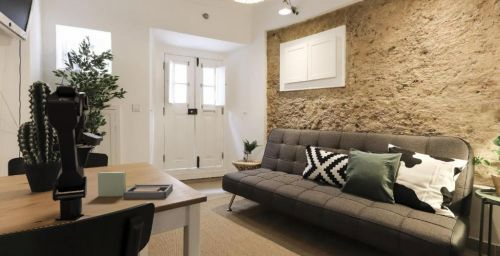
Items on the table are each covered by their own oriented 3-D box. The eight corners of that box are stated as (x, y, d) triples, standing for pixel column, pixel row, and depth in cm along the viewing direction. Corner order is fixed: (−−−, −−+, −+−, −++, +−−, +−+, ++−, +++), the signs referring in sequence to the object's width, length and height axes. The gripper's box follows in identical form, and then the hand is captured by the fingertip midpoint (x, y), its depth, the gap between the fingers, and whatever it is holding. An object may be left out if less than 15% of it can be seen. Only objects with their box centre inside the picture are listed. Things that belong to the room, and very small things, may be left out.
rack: (165, 199, 103) (165, 191, 103) (123, 200, 102) (123, 192, 102) (172, 190, 115) (172, 184, 115) (135, 191, 114) (135, 184, 114)
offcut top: (156, 193, 105) (156, 190, 105) (133, 194, 104) (133, 191, 104) (159, 190, 110) (159, 187, 110) (137, 190, 109) (137, 187, 109)
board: (124, 197, 106) (123, 172, 105) (98, 198, 105) (97, 172, 104) (125, 196, 107) (125, 172, 107) (100, 196, 107) (99, 172, 106)
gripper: (84, 127, 89) (85, 173, 90) (110, 125, 108) (110, 163, 109) (50, 127, 89) (51, 173, 89) (81, 125, 107) (82, 163, 108)
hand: (76, 167), depth 99 cm, fingers open, 9 cm apart
